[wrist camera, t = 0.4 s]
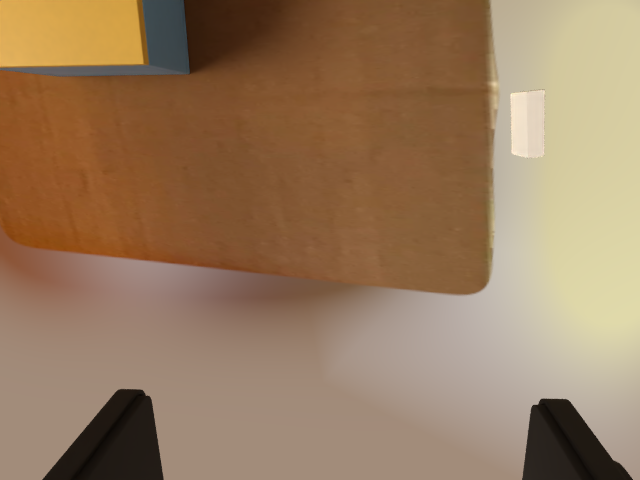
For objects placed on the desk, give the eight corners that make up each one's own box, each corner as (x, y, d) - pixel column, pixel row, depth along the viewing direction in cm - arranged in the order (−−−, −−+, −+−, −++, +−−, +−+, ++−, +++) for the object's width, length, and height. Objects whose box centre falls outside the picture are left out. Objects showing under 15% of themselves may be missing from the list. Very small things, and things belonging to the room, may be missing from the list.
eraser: (526, 90, 36) (544, 89, 33) (526, 151, 38) (544, 156, 34) (510, 93, 36) (526, 91, 33) (511, 153, 38) (527, 158, 34)
